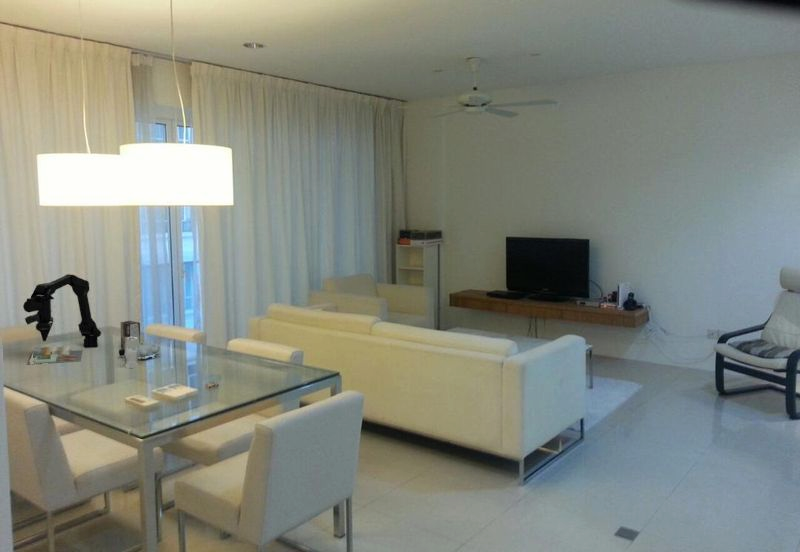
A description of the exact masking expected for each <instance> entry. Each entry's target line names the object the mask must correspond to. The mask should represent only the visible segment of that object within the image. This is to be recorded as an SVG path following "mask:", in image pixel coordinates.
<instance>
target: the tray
mask: <svg viewBox="0 0 800 552" xmlns="http://www.w3.org/2000/svg"><path fill="white" fill-rule="evenodd" d="M57 358H58V356H57V354H55V355H51V359H42V356H41V355H38V356H36V357H35V359H34V364H36V365H41V364H40V363H51V364H57V363H56V361H57Z"/></svg>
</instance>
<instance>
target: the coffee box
mask: <svg viewBox="0 0 800 552" xmlns="http://www.w3.org/2000/svg"><path fill="white" fill-rule="evenodd" d="M127 337H139V343H141V322H138V321H134V320H125V321H121V322H120V350H121V349H125V338H127Z"/></svg>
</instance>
